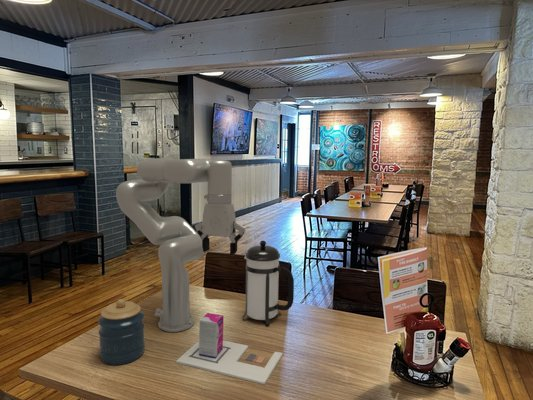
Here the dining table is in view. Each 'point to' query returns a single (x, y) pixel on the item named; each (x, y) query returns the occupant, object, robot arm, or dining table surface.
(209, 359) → the board
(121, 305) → the canister
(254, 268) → the coffee press
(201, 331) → the supplement box
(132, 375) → the dining table surface
